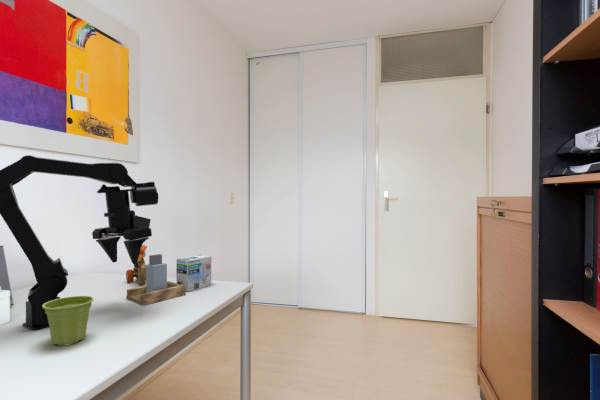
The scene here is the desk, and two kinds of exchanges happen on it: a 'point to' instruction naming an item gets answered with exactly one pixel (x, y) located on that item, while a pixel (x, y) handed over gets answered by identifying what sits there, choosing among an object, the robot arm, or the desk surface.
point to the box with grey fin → (156, 274)
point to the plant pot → (68, 318)
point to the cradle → (155, 294)
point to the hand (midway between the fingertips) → (124, 262)
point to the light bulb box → (194, 272)
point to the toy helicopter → (138, 269)
